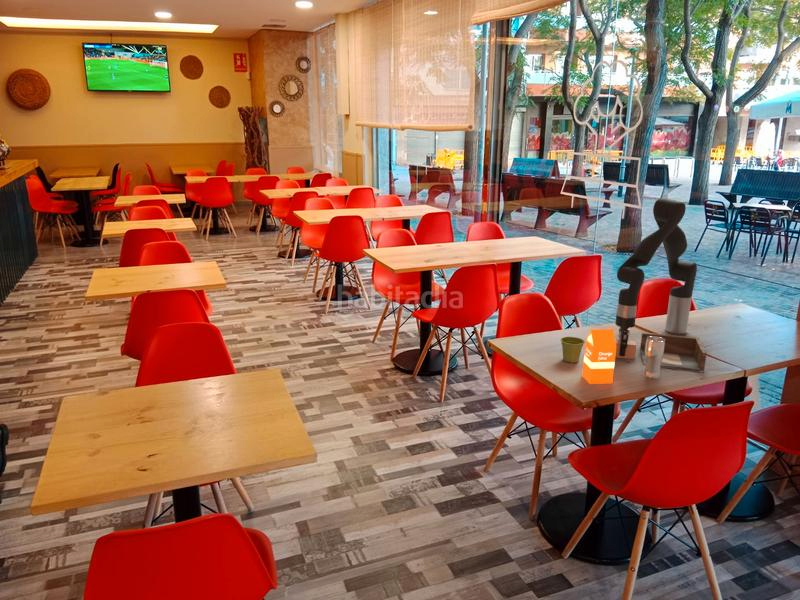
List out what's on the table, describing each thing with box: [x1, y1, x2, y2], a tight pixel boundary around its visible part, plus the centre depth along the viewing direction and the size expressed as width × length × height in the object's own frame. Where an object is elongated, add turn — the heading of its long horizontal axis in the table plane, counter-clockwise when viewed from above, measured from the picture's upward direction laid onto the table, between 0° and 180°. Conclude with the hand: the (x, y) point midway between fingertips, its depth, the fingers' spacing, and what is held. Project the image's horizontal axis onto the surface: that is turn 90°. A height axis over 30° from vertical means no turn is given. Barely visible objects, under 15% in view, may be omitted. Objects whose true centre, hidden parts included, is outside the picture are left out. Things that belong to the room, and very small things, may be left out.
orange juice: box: [581, 328, 616, 385], centre depth 229 cm, size 8×9×20 cm
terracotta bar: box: [615, 338, 637, 360], centre depth 255 cm, size 10×5×6 cm, turn 73°
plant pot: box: [560, 336, 586, 364], centre depth 249 cm, size 9×9×9 cm
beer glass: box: [642, 336, 665, 380], centre depth 233 cm, size 7×7×15 cm
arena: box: [639, 331, 707, 373], centre depth 249 cm, size 18×22×8 cm
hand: (621, 353), depth 255 cm, fingers closed on terracotta bar, 5 cm apart
